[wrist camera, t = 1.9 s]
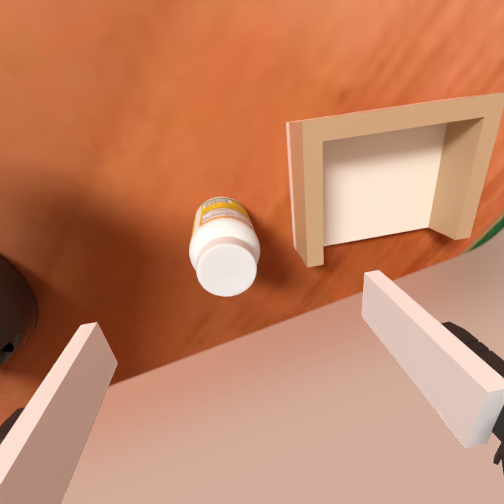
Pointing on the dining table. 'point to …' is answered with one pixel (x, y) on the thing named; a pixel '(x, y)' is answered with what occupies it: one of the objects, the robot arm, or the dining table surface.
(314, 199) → the u rest
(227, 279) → the supplement bottle
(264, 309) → the dining table surface
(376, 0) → the dining table surface
